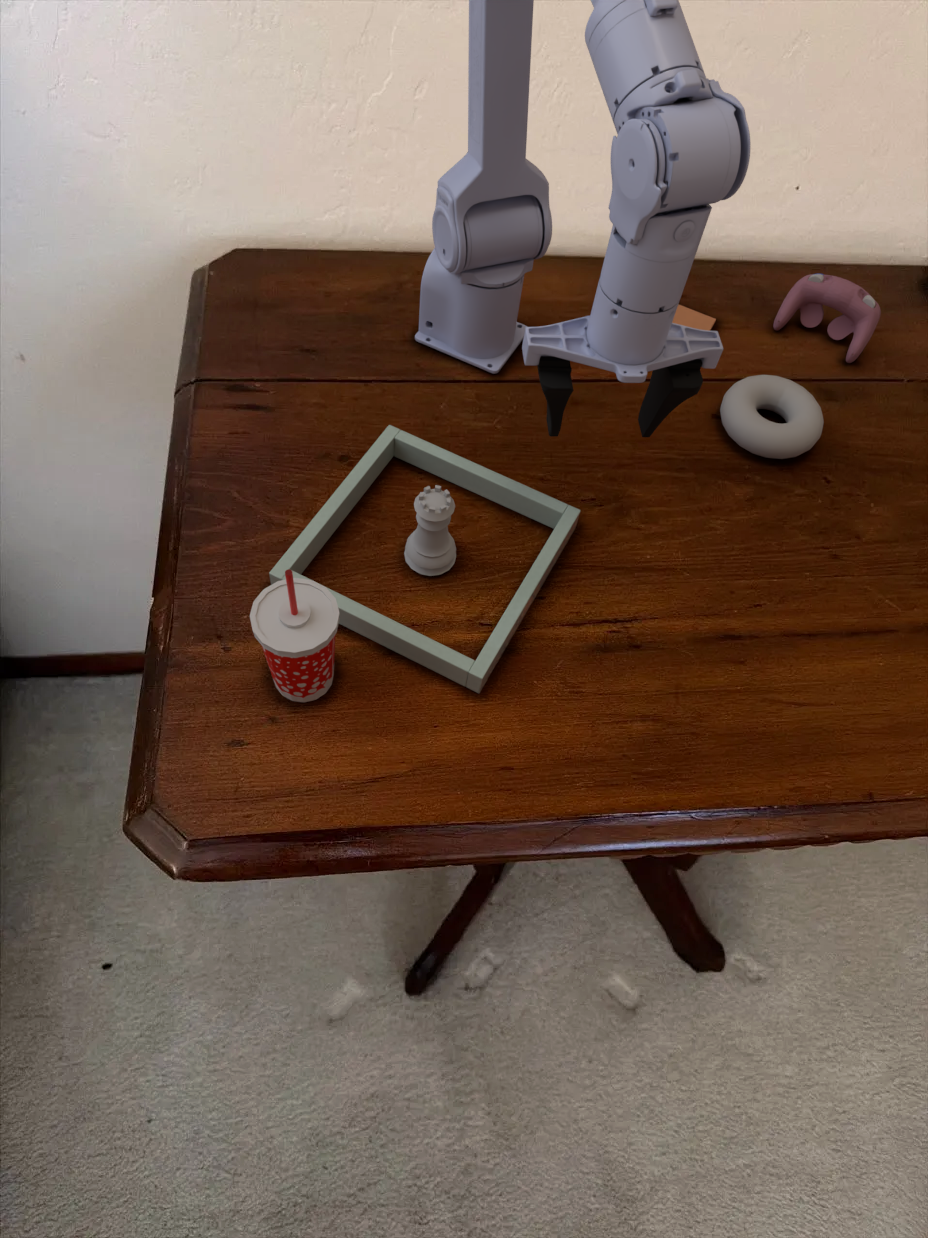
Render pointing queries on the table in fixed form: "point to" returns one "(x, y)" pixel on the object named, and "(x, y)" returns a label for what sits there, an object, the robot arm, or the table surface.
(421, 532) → the rook chess piece
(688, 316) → the mat
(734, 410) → the donut
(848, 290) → the video game controller
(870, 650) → the table surface
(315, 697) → the beverage cup
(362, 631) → the open square border
